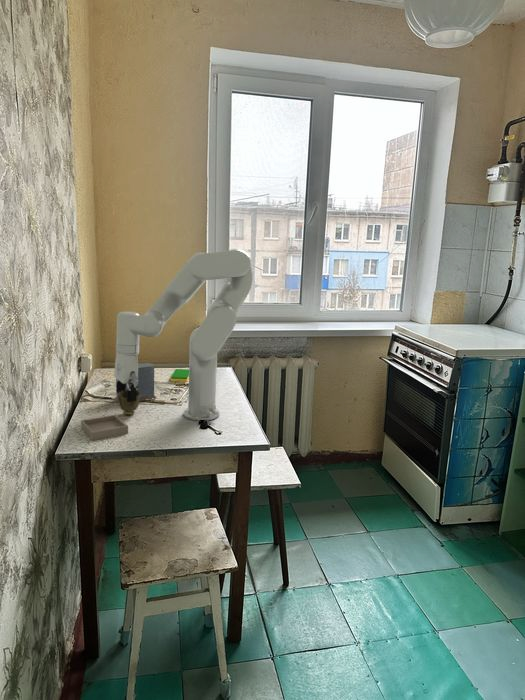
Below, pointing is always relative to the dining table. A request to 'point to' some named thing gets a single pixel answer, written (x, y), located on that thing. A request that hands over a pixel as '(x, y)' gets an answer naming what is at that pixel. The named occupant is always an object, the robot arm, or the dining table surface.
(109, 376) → the dining table surface
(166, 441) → the dining table surface
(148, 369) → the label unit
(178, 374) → the dish sponge
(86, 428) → the tray
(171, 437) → the dining table surface
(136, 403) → the cup
